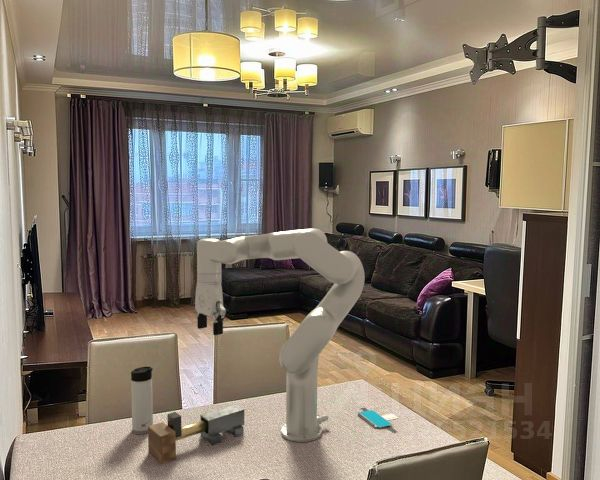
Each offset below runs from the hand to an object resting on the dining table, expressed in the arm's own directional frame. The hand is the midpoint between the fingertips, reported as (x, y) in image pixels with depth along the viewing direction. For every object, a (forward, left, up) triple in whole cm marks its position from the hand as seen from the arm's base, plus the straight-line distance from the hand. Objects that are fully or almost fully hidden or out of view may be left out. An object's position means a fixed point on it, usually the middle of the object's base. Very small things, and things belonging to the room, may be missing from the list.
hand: (210, 331), depth 169 cm
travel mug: (+19, -9, -31) cm, 37 cm away
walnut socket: (+22, +10, -30) cm, 38 cm away
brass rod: (+14, +10, -27) cm, 32 cm away
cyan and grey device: (-45, +33, -31) cm, 63 cm away
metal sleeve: (+2, +10, -30) cm, 32 cm away
